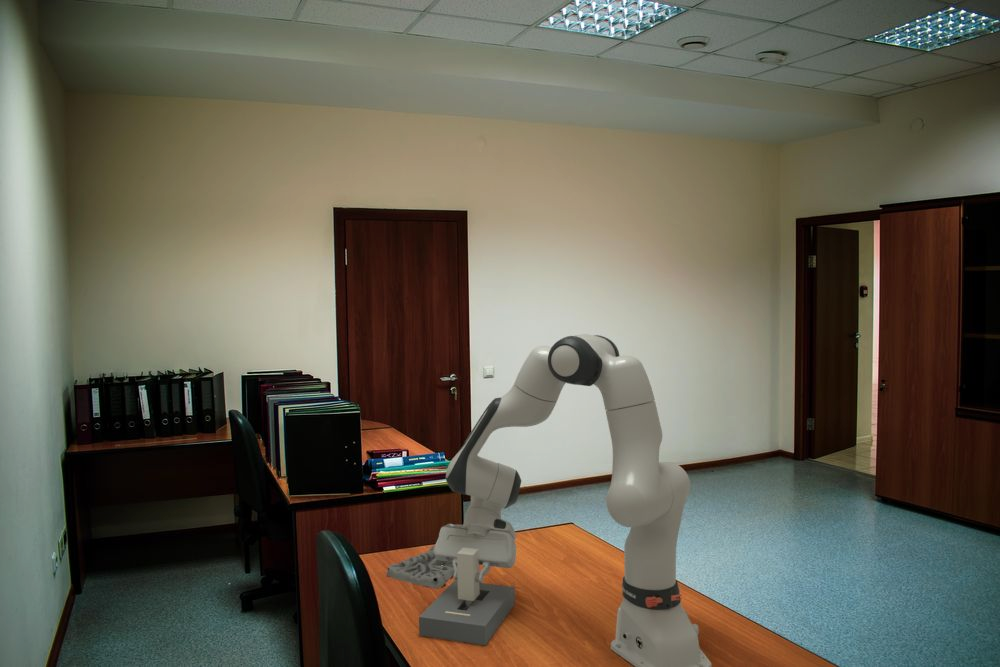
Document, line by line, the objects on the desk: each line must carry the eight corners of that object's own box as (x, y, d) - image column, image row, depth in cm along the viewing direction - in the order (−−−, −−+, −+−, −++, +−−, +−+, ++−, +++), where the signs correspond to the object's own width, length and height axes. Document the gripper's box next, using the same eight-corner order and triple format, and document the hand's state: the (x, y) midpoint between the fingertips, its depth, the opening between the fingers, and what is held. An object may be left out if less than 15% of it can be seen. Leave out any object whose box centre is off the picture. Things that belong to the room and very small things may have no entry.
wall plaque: (438, 592, 187) (438, 577, 187) (382, 577, 197) (382, 563, 197) (486, 562, 207) (486, 549, 207) (433, 551, 217) (433, 538, 217)
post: (463, 612, 172) (462, 547, 171) (481, 614, 171) (479, 548, 170) (457, 620, 168) (455, 553, 167) (474, 623, 167) (473, 555, 166)
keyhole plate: (455, 596, 183) (454, 578, 182) (514, 604, 178) (514, 586, 177) (419, 635, 162) (418, 616, 161) (485, 645, 157) (485, 625, 156)
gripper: (438, 517, 178) (423, 569, 169) (516, 524, 172) (505, 579, 163) (446, 529, 183) (431, 581, 174) (522, 536, 176) (511, 590, 167)
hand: (467, 580), depth 168 cm, fingers closed on post, 4 cm apart
